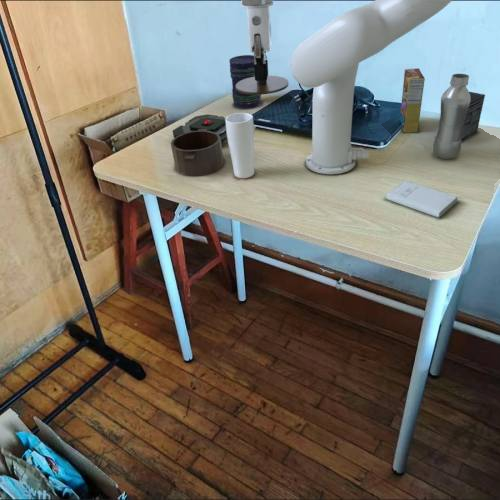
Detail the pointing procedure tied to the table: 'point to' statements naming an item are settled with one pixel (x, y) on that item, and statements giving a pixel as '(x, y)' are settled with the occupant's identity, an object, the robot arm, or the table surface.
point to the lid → (262, 85)
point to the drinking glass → (241, 143)
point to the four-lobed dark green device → (204, 126)
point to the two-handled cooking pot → (197, 152)
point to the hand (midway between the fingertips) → (261, 77)
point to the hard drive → (422, 198)
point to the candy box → (412, 99)
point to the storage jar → (241, 70)
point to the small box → (472, 115)
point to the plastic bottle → (452, 117)
